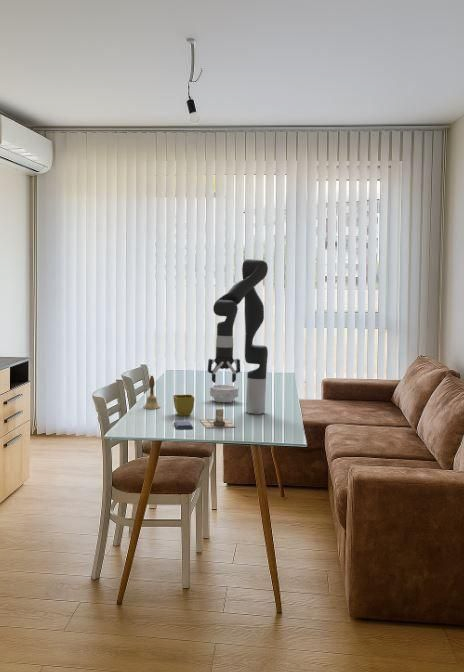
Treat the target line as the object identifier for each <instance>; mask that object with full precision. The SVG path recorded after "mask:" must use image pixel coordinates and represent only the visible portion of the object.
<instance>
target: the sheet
mask: <svg viewBox="0 0 464 672" xmlns="http://www.w3.org/2000/svg"><path fill="white" fill-rule="evenodd" d="M199 421H200V423H201V424H202V425H203V426H204V427H205V429H226V428H227V429H229V428H234V429H235V428H236V426H235V425H234V424H233V422H231V421H230V420H229V419H228V418H223V421H225V426H214V421H216V418H214V419H210V418H209V419H205V418H204V419H202V418H201V419H199Z"/></svg>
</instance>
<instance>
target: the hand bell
mask: <svg viewBox="0 0 464 672" xmlns="http://www.w3.org/2000/svg"><path fill="white" fill-rule="evenodd" d="M149 377H150V378H149V381H148V383H149V388H150V390H149V393H150V395H149V396H147V399H146V403H145V404H144V405H143V409H145V408H146V410H159V409H161V406H160V405H159V403H158V401H157V396H155V395H154V394H155V393H154V387H155V377H154V375H150V376H149Z"/></svg>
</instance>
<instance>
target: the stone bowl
mask: <svg viewBox="0 0 464 672" xmlns="http://www.w3.org/2000/svg"><path fill="white" fill-rule="evenodd" d="M209 387H210V388H209V396H210V397H212V398H213V401H215V402H216V403H220V402H230V403H233V402H234V401H235V399H236V398H239V390H240V389H239V387H238V386H235V385H232V384H231V385H230V384H213V385H211V386H209ZM232 401H233V402H232Z"/></svg>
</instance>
